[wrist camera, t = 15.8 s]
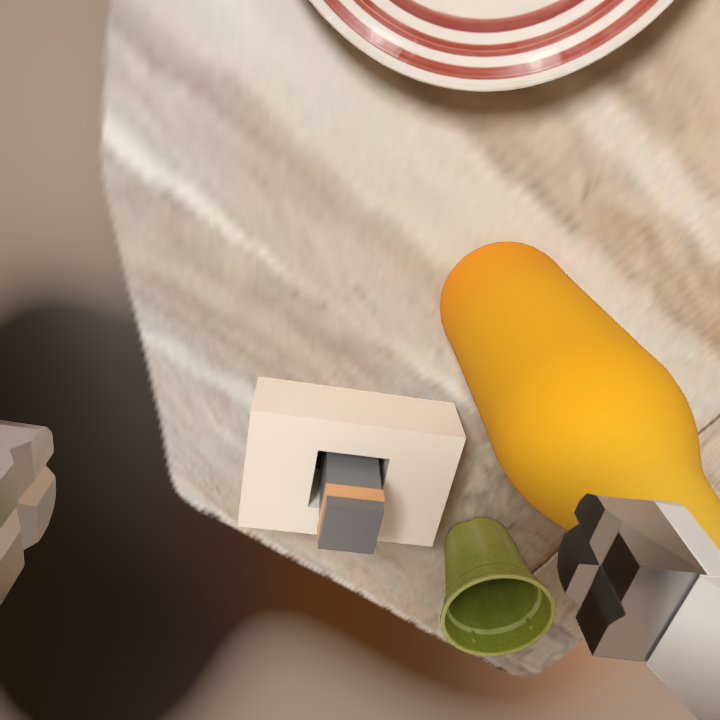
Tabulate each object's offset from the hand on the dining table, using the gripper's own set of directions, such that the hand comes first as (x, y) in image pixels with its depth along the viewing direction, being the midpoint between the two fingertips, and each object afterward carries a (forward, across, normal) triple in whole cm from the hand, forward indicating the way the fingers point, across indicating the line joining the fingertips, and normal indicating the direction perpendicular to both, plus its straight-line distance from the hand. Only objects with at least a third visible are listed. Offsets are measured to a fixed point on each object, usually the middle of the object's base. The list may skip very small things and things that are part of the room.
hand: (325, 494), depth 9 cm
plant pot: (+34, -19, +32) cm, 51 cm away
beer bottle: (+34, -14, +8) cm, 38 cm away
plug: (+34, -5, +23) cm, 42 cm away
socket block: (+34, -5, +23) cm, 41 cm away
